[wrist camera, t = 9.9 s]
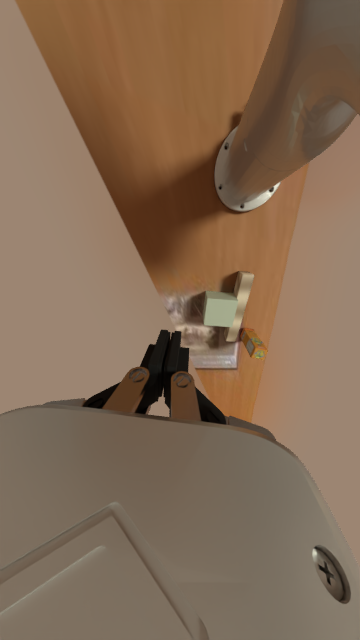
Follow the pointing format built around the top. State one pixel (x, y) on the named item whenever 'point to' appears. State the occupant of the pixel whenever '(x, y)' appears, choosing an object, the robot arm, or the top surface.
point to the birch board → (239, 303)
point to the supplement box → (253, 344)
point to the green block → (219, 308)
